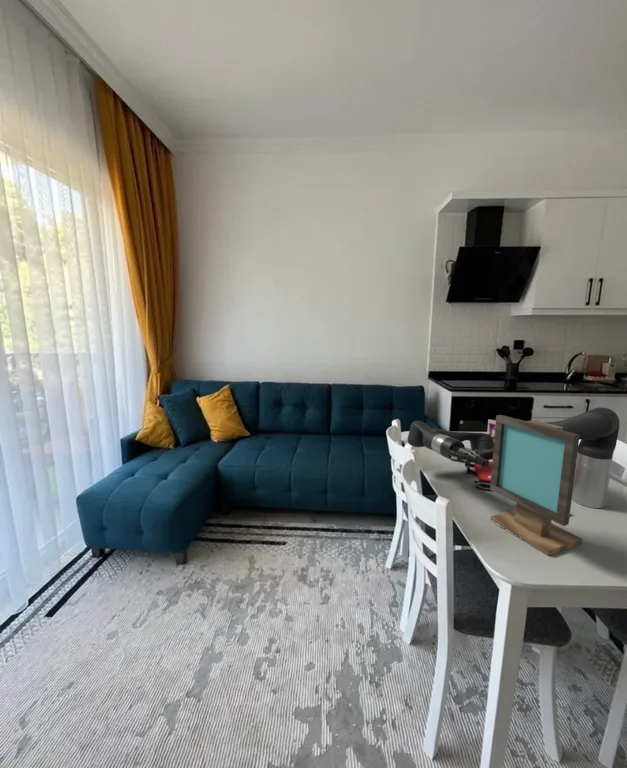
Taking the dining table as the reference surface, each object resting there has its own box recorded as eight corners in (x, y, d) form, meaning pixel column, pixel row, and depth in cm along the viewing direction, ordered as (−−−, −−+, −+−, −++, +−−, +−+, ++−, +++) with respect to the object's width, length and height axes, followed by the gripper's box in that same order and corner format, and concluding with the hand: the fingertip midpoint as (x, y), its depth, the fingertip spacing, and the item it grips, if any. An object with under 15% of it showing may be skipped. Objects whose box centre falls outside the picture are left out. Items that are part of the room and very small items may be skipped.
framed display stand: (521, 512, 112) (531, 414, 107) (581, 543, 96) (597, 430, 90) (490, 520, 107) (499, 418, 101) (548, 555, 90) (563, 436, 85)
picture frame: (494, 488, 108) (501, 414, 104) (568, 524, 88) (579, 434, 84) (490, 489, 107) (496, 415, 104) (563, 526, 87) (574, 435, 83)
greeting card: (484, 448, 172) (487, 419, 170) (494, 446, 175) (497, 417, 173) (505, 455, 162) (508, 425, 160) (515, 453, 165) (518, 423, 163)
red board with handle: (470, 488, 129) (515, 495, 124) (470, 481, 128) (516, 488, 123) (463, 461, 157) (500, 466, 152) (464, 455, 156) (500, 460, 151)
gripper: (460, 454, 127) (501, 472, 112) (432, 459, 123) (470, 478, 107) (461, 434, 126) (503, 450, 110) (433, 439, 121) (472, 455, 105)
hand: (487, 464), depth 109 cm, fingers closed
